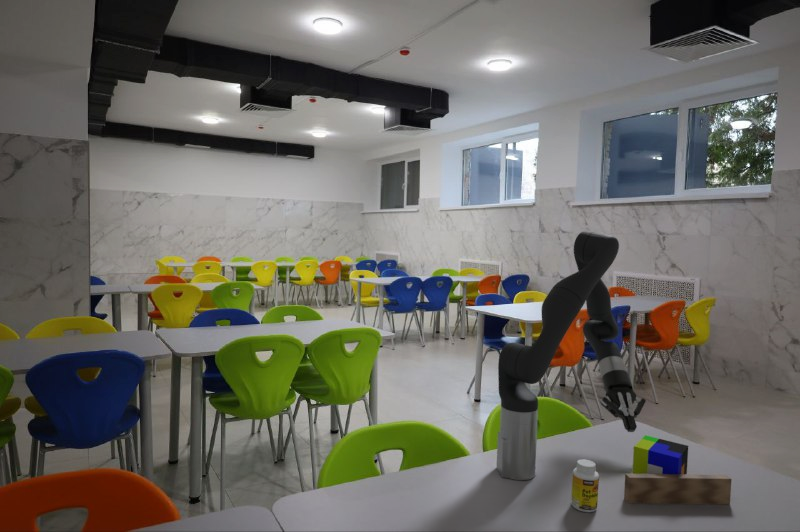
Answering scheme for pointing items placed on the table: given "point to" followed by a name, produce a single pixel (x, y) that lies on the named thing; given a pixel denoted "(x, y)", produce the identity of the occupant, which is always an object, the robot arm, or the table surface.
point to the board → (677, 488)
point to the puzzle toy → (659, 457)
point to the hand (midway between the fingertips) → (631, 430)
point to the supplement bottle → (585, 486)
